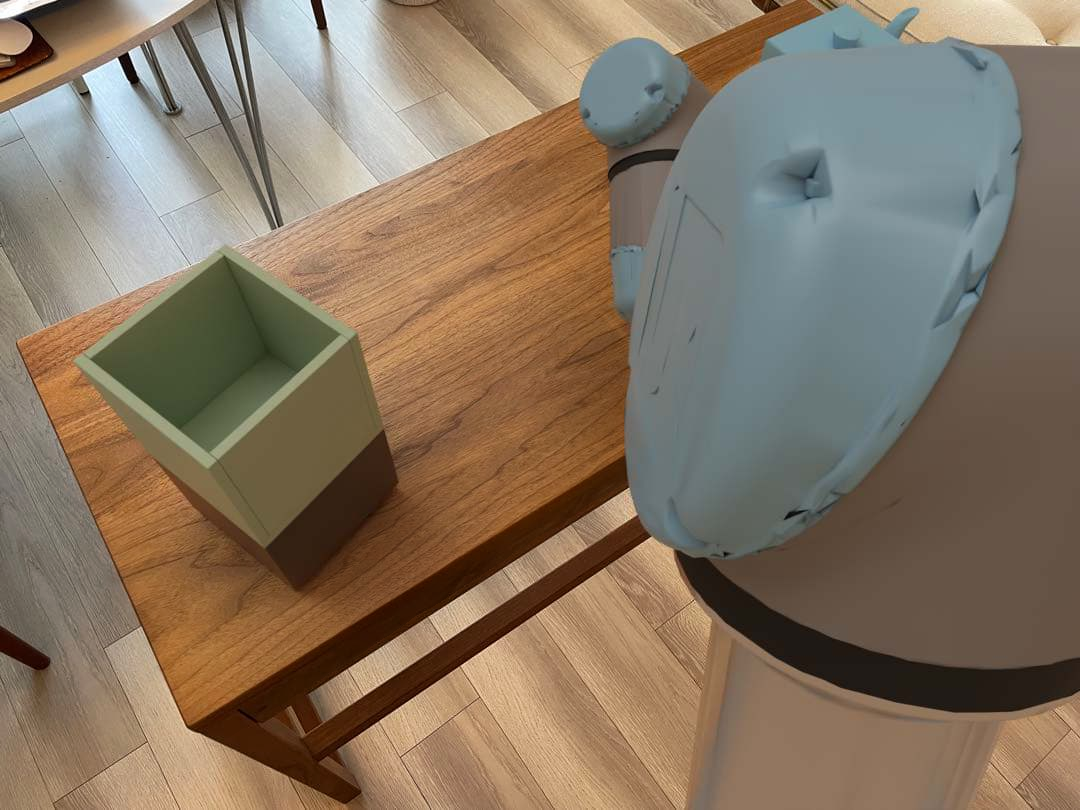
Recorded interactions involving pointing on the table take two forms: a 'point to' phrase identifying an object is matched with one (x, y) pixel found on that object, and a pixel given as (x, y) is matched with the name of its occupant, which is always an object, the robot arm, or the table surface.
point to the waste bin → (251, 410)
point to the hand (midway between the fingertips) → (810, 239)
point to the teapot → (838, 33)
